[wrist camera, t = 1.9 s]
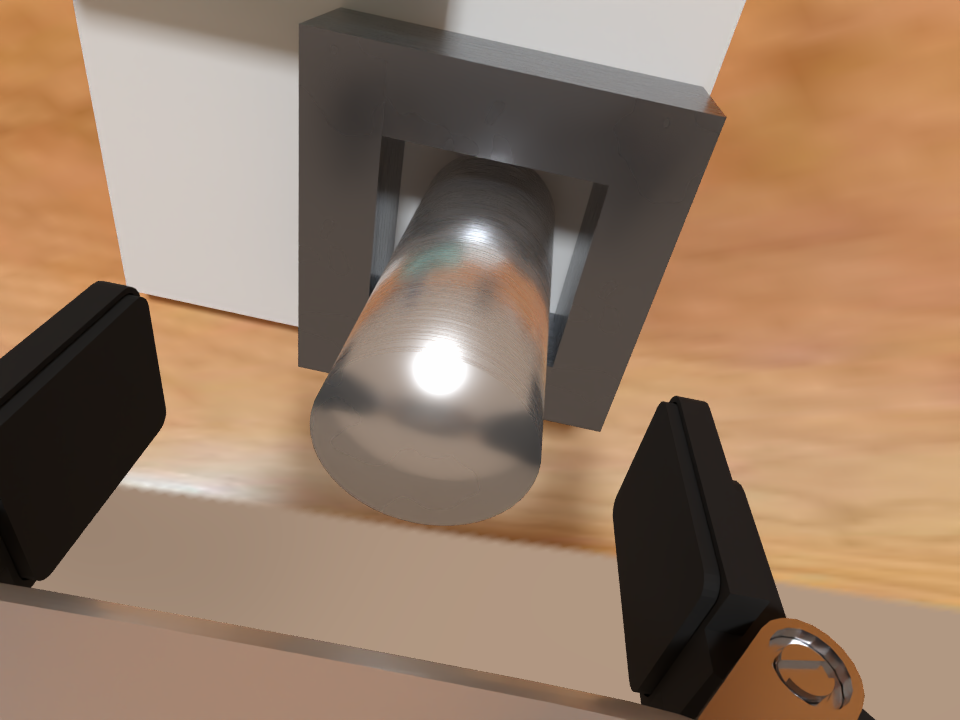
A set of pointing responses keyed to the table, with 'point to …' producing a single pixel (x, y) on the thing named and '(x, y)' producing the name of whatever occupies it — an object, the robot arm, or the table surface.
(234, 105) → the docking plate
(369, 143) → the holder block
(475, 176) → the silver metal cylinder
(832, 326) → the table surface
